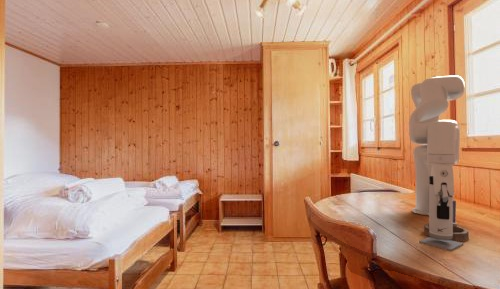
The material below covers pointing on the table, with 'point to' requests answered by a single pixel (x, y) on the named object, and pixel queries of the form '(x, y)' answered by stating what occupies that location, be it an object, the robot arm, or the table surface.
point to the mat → (441, 243)
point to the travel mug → (437, 226)
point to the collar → (458, 232)
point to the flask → (454, 210)
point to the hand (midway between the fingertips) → (441, 215)
